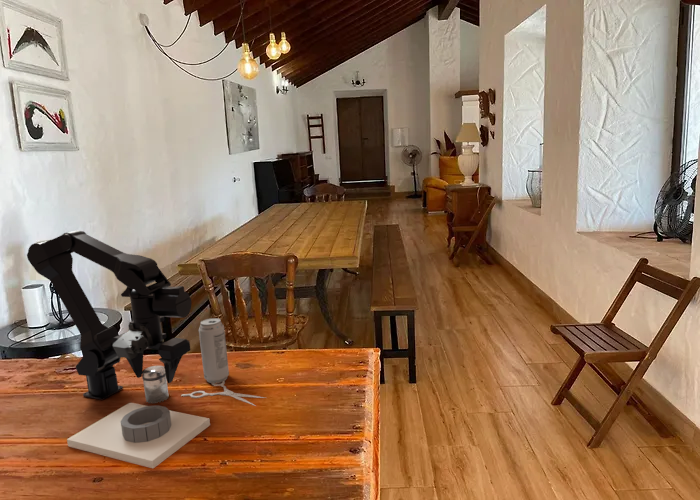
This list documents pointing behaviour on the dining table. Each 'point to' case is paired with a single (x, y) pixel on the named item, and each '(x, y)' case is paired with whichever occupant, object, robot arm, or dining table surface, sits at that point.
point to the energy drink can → (213, 350)
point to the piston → (155, 384)
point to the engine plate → (137, 451)
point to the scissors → (222, 393)
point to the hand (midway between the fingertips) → (154, 379)
